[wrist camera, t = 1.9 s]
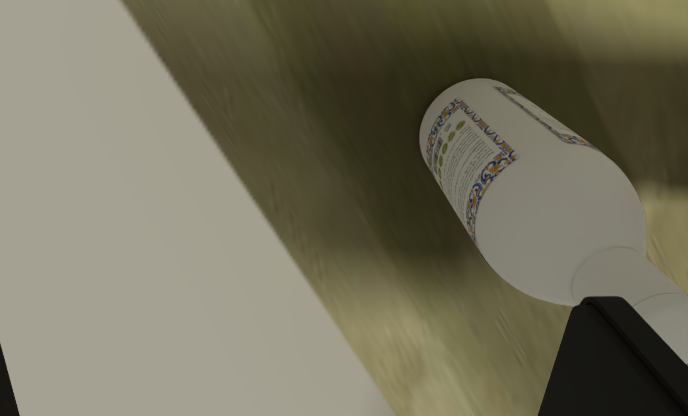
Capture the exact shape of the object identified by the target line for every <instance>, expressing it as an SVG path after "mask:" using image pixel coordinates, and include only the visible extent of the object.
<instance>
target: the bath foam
mask: <svg viewBox="0 0 688 416" xmlns="http://www.w3.org/2000/svg"><path fill="white" fill-rule="evenodd" d="M419 143H420V149H421V153H422V156H423V158H424V160H425V162H426V164H427V166H428V167H429V169H430V171H431V173H432V174H433V176H434V178H435V179H436V181H437V183H438V184H439V186H440V188H441V189H442V191H443V193H444V194H445V196H446V197H447V199H448V201H449V202H450V204H451V206H452V207H453V209H454V211H455V212H456V214H457V215H458V217H459V219H460V220H461V222H462V224H463V225H464V227H465V229H466V230H467V232H468V234H469V235H470V237H471V238H472V240H473V242H474V243H475V245H476V247H477V248H478V250H479V252H480V253H481V255H482V256H483V258H484V259H485V261H486V262H487V263H488V264H489V265H490V266H491V267H492V268H493V269H494V270H495V271H496V272H497V273H498V274H499V275H500V276H501V277H502V278H503V279H504V280H505V281H507V282H508V283H509V284H511V285H512V286H513V287H515V288H517V289H518V290H520V291H522V292H524V293H526V294H528V295H530V296H532V297H535V298H537V299H540V300H544V301H547V302H551V303H556V304H561V305H567V306H576V305H580V302H581V301H582V300H583V299H584V298H585V297H588V296H619V297H622V298H624V299H625V300H626V301H627V302H628V303H629V304H630V305H631V306H632V307H633V308H634V309H635V310H636V311H637V312H638V314H639V315H640V316H641V317H642V318H643V319H644V320H645V321H646V322H647V323H648V324H649V325H650V326H651V327H652V328H653V329H654V331H655V332H656V333H657V334H658V335H659V336H660V337H661V338H662V339H663V340H664V341H665V342H666V343H667V344H668V345H669V347H670V348H671V349H672V350H673V351H674V352H675V353H676V354H677V355H678V356H679V357H680V358H681V359H682V360H683V361H684V363H685V364H687V363H688V295H687V294H685V293H684V292H683V291H682V290H681V289H680V288H679V287H678V286H677V285H676V284H674V283H673V282H672V281H671V280H670V279H669V278H668V277H667V276H666V275H665V274H664V273H662V272H661V271H660V270H659V269H658V268H657V267H656V266H655V265H653V264H652V263H651V262H650V261H649V260H648V259H647V258H646V223H645V216H644V212H643V208H642V205H641V202H640V200H639V197H638V195H637V193H636V191H635V189H634V187H633V186H632V184H631V182H630V181H629V179H628V178H627V177H626V175H625V174H624V173H623V172H622V170H621V169H620V168H619V167H618V166H617V165H616V164H615V163H614V162H613V161H612V160H611V159H610V158H609V157H608V156H607V155H605V154H604V153H603V152H601V151H600V150H598V149H597V148H596V147H594V146H593V145H591V144H590V143H589V142H587V141H586V140H584V139H583V138H582V137H580V136H579V135H577V134H576V133H575V132H573V131H572V130H570V129H569V128H567V127H566V126H565V125H563V124H562V123H560V122H559V121H558V120H556V119H555V118H553V117H552V116H551V115H549V114H548V113H546V112H545V111H544V110H542V109H541V108H539V107H538V106H537V105H535V104H534V103H532V102H531V101H529V100H528V99H527V98H525V97H524V96H522V95H521V94H519V93H518V92H516V91H515V90H513V89H512V88H510V87H509V86H507V85H506V84H504V83H501V82H499V81H496V80H492V79H485V78H477V79H470V80H465V81H462V82H459V83H457V84H455V85H453V86H451V87H449V88H448V89H446V90H445V91H443V92H442V93H441V94H440V95H439V96H438V97H437V98H436V99H435V100H434V101H433V102H432V104H431V105H430V106H429V108H428V109H427V111H426V113H425V115H424V118H423V120H422V123H421V127H420V134H419Z"/></svg>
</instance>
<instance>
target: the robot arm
mask: <svg viewBox="0 0 688 416" xmlns="http://www.w3.org/2000/svg"><path fill="white" fill-rule="evenodd" d="M0 416H20V415H19V412H18V408H17V404H16V400H15V397H14V393H13V389H12V386H11V382H10V378H9V374H8V371H7V367H6V363H5V359H4V356H3V352H2V348H1V345H0ZM538 416H688V366H687V365H686V364H685V363H684V361H683V360H682V359H681V358H680V357H679V356H678V355H677V354H676V353H675V352H674V351H673V350H672V349H671V348H670V347H669V345H668V344H667V343H666V342H665V341H664V340H663V339H662V338H661V337H660V336H659V335H658V334H657V333H656V332H655V331H654V329H653V328H652V327H651V326H650V325H649V324H648V323H647V322H646V321H645V320H644V319H643V318H642V317H641V316H640V315H639V314H638V312H637V311H636V310H635V309H634V308H633V307H632V306H631V305H630V304H629V303H628V302H627V301H626V300H625V299H624V298H622V297H619V296H588V297H585V298H584V299H583V300H582V301H581V302H580V305H576V306H574V307H573V309H572V311H571V313H570V316H569V319H568V322H567V326H566V329H565V332H564V335H563V338H562V341H561V344H560V348H559V351H558V354H557V357H556V360H555V363H554V366H553V369H552V373H551V376H550V379H549V382H548V385H547V388H546V391H545V395H544V398H543V401H542V404H541V407H540V410H539V413H538Z"/></svg>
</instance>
